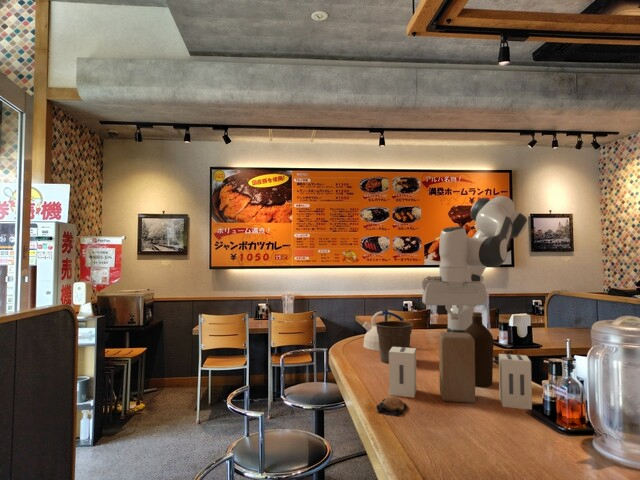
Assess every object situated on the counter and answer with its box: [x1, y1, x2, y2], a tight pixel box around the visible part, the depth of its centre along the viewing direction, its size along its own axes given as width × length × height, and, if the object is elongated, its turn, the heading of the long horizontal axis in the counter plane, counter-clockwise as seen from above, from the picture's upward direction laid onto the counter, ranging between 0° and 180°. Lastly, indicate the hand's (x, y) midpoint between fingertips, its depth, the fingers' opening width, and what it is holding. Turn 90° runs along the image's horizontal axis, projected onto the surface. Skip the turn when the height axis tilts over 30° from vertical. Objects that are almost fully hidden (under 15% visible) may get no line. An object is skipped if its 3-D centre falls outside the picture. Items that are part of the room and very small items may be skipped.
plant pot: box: [375, 320, 414, 364], centre depth 179 cm, size 16×16×16 cm
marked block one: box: [388, 347, 417, 398], centre depth 137 cm, size 8×8×14 cm
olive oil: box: [464, 311, 495, 388], centre depth 148 cm, size 11×11×25 cm
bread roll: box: [375, 396, 408, 417], centre depth 122 cm, size 11×8×4 cm
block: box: [438, 331, 476, 404], centre depth 132 cm, size 10×10×20 cm
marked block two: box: [498, 353, 533, 411], centre depth 126 cm, size 8×8×14 cm
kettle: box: [362, 310, 404, 352], centre depth 208 cm, size 20×21×18 cm
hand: (454, 319), depth 133 cm, fingers closed
